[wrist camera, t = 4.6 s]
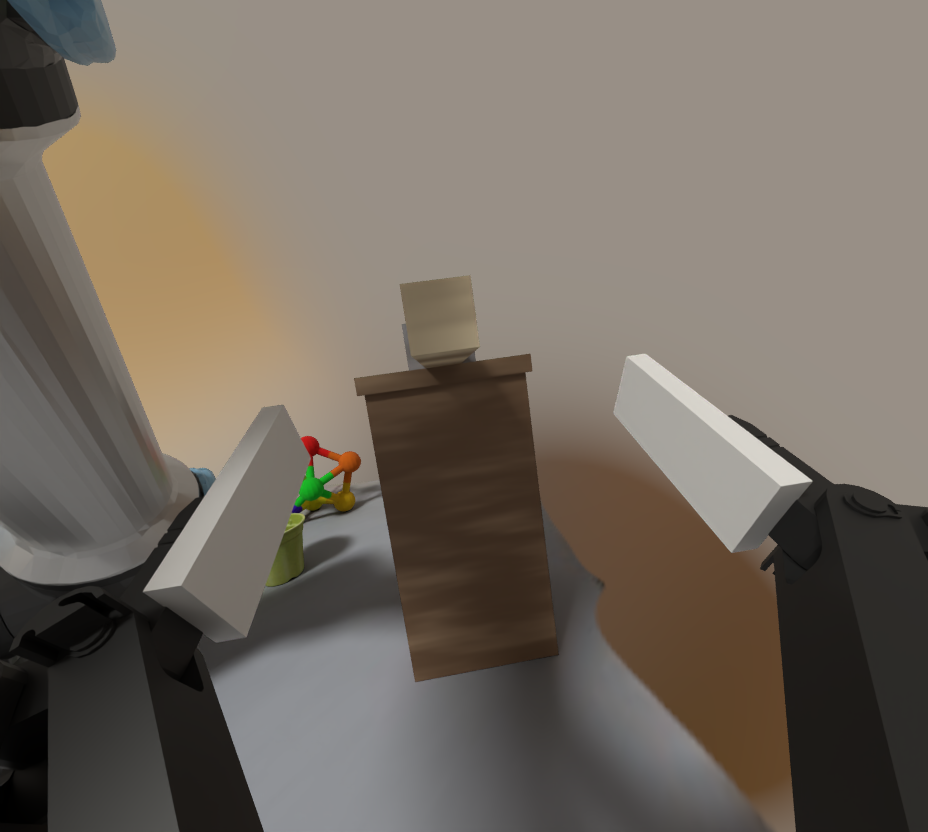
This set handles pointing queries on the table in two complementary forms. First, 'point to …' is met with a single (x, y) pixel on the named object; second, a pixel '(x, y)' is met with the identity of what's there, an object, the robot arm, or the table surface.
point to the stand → (463, 513)
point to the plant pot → (289, 553)
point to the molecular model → (326, 480)
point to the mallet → (439, 322)
